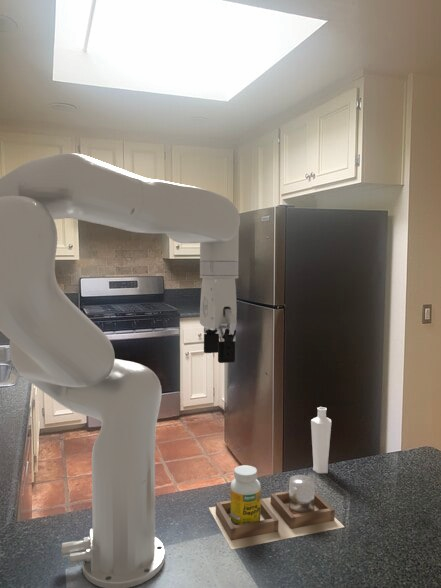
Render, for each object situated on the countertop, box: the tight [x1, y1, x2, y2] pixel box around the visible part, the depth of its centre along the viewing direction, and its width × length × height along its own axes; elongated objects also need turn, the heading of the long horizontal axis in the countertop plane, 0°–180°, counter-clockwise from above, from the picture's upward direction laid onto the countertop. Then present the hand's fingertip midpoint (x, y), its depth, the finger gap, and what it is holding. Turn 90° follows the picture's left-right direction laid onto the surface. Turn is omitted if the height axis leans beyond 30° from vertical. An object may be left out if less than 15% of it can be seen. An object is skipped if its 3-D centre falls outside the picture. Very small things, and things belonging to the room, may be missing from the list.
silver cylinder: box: [288, 474, 316, 515], centre depth 83 cm, size 5×5×6 cm
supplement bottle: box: [230, 464, 262, 525], centre depth 79 cm, size 5×5×10 cm
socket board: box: [208, 490, 345, 551], centre depth 81 cm, size 21×13×3 cm, turn 108°
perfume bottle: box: [310, 406, 332, 474], centre depth 99 cm, size 5×4×15 cm
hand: (218, 357), depth 89 cm, fingers open, 9 cm apart
